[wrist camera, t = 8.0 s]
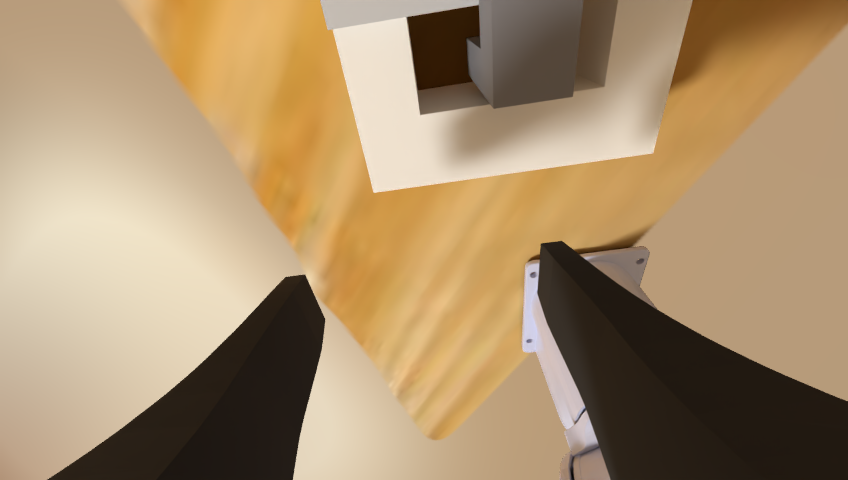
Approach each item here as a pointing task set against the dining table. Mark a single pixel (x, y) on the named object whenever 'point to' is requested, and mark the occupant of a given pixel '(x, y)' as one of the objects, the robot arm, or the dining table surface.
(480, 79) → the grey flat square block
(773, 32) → the dining table surface
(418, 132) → the shallow white tray
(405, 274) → the dining table surface
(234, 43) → the dining table surface
